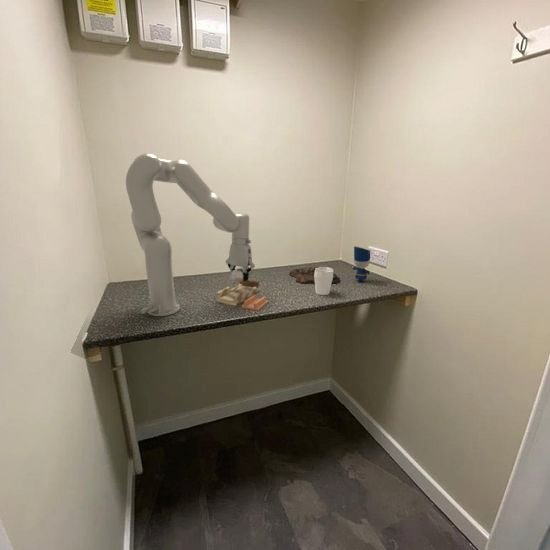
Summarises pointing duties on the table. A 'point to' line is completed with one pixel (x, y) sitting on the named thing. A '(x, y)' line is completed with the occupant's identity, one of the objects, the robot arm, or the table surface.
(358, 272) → the figurine
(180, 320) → the table surface
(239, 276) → the grey metal cylinder
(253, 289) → the beige elongated piece
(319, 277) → the cup
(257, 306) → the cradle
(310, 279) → the stone relief
